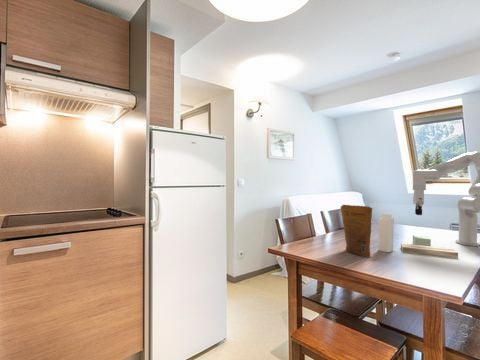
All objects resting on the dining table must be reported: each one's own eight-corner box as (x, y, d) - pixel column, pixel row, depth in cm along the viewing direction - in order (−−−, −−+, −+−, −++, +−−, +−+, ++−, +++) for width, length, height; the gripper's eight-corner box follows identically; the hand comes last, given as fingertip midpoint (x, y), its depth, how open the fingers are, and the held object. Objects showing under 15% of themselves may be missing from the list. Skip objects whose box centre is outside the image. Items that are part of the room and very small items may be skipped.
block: (412, 243, 177) (412, 234, 177) (426, 245, 174) (427, 236, 174) (415, 247, 168) (415, 237, 168) (430, 248, 165) (430, 239, 165)
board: (400, 248, 165) (400, 243, 165) (452, 253, 154) (452, 248, 154) (402, 252, 156) (403, 247, 156) (457, 258, 145) (458, 252, 145)
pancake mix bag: (367, 259, 141) (368, 207, 141) (338, 250, 158) (339, 203, 157) (375, 257, 144) (376, 206, 144) (346, 249, 161) (347, 203, 161)
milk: (388, 252, 154) (389, 215, 154) (378, 250, 159) (378, 214, 159) (393, 250, 158) (394, 214, 158) (382, 248, 163) (383, 213, 163)
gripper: (410, 187, 190) (410, 212, 190) (414, 188, 175) (414, 215, 175) (423, 187, 187) (422, 213, 187) (428, 188, 172) (427, 216, 172)
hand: (418, 214), depth 181 cm, fingers open, 3 cm apart
